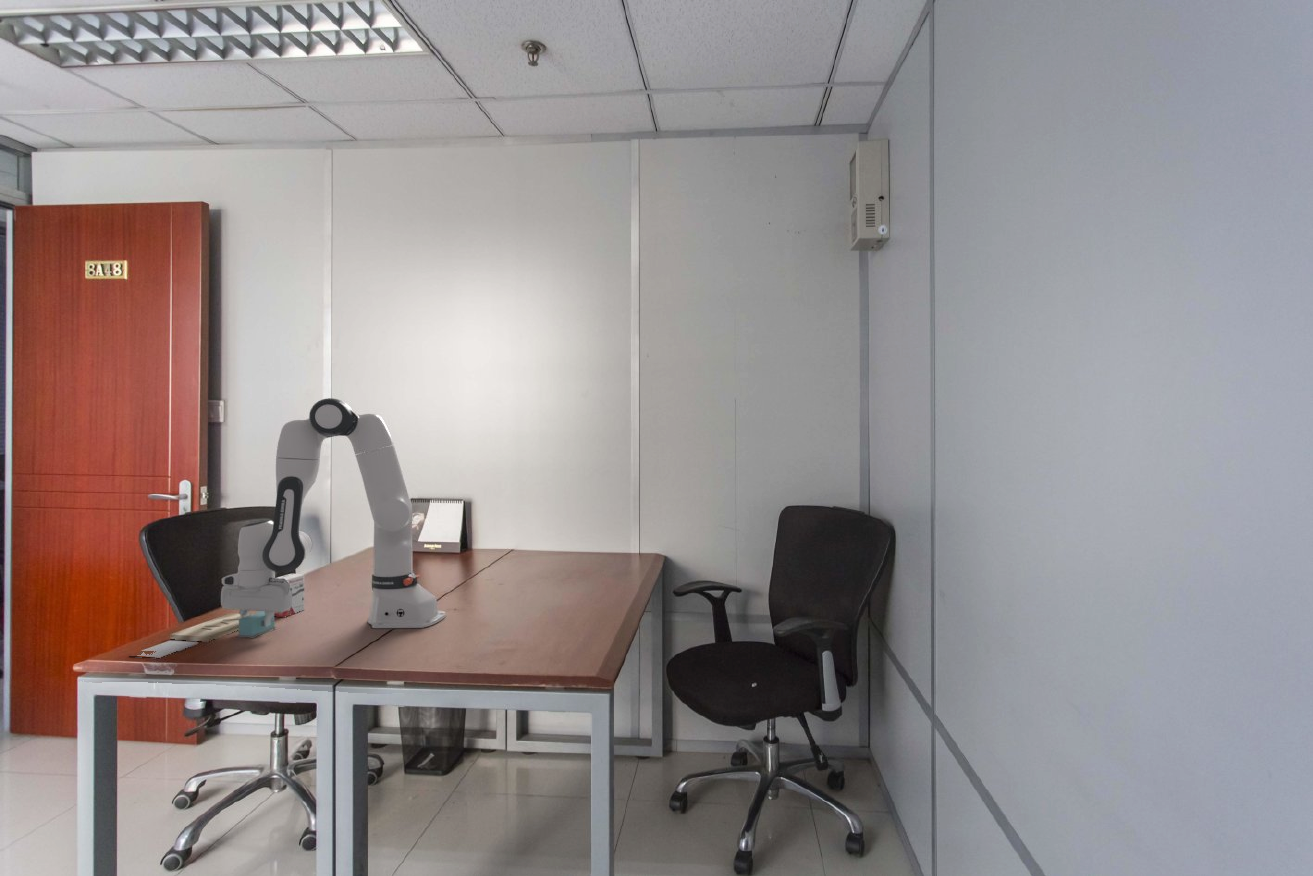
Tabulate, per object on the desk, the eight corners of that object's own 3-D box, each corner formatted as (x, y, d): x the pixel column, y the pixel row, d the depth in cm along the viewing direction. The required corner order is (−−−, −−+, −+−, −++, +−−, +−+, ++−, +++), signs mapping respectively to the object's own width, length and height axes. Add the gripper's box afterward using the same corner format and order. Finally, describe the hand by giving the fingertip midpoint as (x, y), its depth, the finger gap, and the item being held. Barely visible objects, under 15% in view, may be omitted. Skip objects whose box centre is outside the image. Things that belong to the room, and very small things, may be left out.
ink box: (284, 618, 188) (284, 580, 188) (270, 617, 189) (270, 579, 189) (305, 610, 196) (305, 573, 196) (292, 609, 197) (292, 573, 197)
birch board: (265, 619, 186) (265, 614, 186) (207, 642, 166) (207, 636, 166) (230, 617, 188) (230, 612, 188) (169, 639, 168) (169, 634, 168)
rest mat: (198, 643, 165) (198, 642, 165) (159, 658, 154) (159, 657, 154) (169, 641, 166) (169, 640, 166) (128, 656, 156) (128, 655, 156)
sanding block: (275, 629, 178) (275, 612, 177) (252, 638, 170) (252, 620, 170) (261, 627, 179) (261, 610, 178) (237, 636, 171) (237, 619, 171)
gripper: (297, 576, 175) (297, 623, 176) (234, 573, 179) (235, 620, 179) (280, 581, 169) (281, 630, 169) (216, 578, 172) (216, 627, 172)
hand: (256, 625), depth 174 cm, fingers closed on sanding block, 4 cm apart
